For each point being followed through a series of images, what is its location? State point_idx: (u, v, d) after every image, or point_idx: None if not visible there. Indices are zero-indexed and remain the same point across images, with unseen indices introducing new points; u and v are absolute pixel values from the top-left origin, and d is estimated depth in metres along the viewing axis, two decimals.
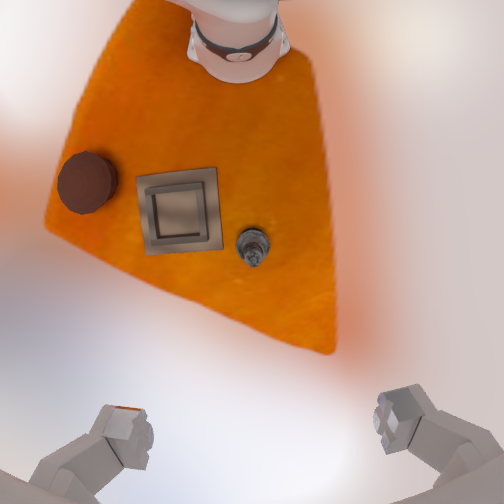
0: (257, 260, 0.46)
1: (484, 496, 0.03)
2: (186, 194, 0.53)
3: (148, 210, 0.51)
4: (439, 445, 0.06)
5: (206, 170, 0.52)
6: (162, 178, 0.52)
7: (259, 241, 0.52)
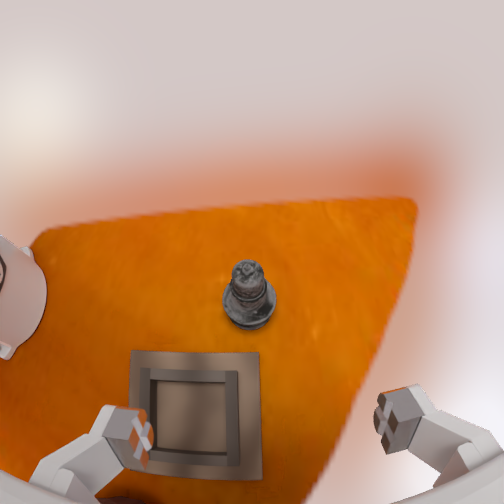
0: (249, 264, 0.27)
1: (484, 496, 0.03)
2: (163, 399, 0.30)
3: (175, 460, 0.25)
4: (439, 445, 0.06)
5: (133, 363, 0.32)
6: None
7: None
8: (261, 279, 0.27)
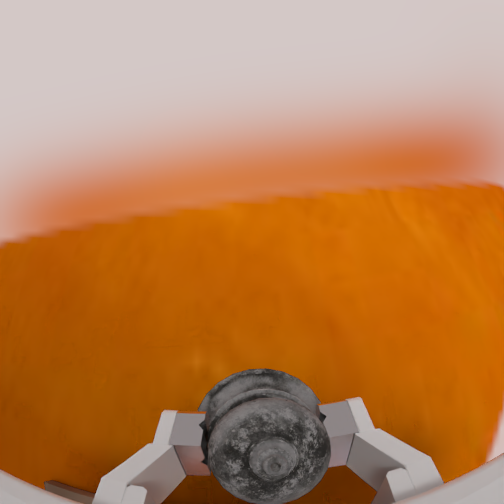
0: (280, 433, 0.05)
1: (484, 496, 0.03)
2: None
3: None
4: (375, 466, 0.06)
5: None
6: None
7: None
8: (324, 472, 0.05)
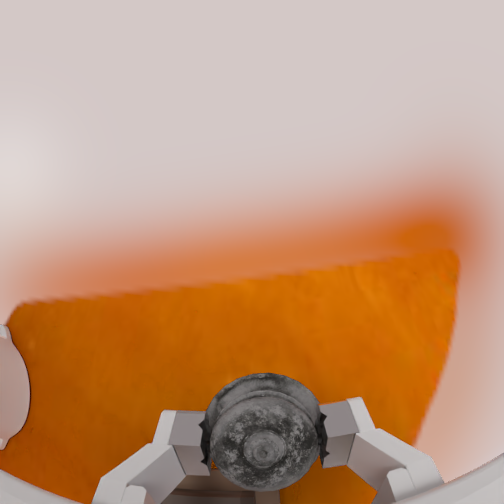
0: (270, 427, 0.06)
1: (484, 496, 0.03)
2: None
3: None
4: (375, 465, 0.06)
5: None
6: None
7: None
8: (312, 463, 0.06)
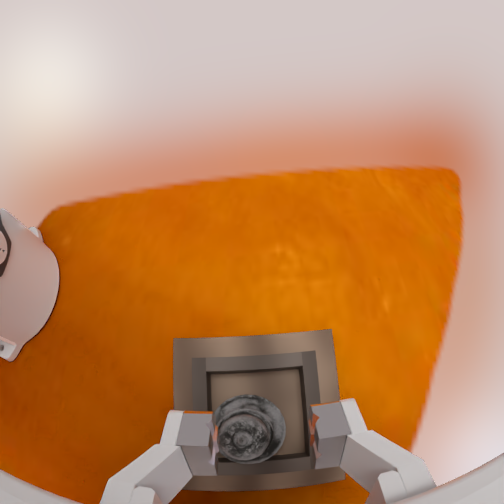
0: (246, 430, 0.14)
1: (484, 496, 0.03)
2: (220, 396, 0.25)
3: (244, 471, 0.19)
4: (367, 467, 0.06)
5: (177, 355, 0.27)
6: None
7: None
8: (264, 449, 0.14)
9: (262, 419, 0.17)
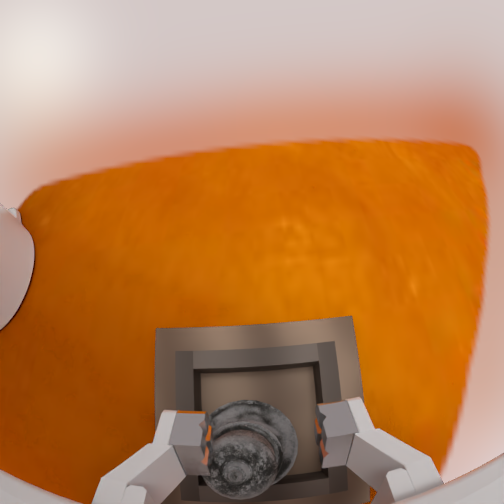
0: (242, 458, 0.09)
1: (484, 496, 0.03)
2: (212, 401, 0.19)
3: None
4: (374, 466, 0.06)
5: (160, 349, 0.21)
6: None
7: None
8: (270, 485, 0.08)
9: (267, 436, 0.12)
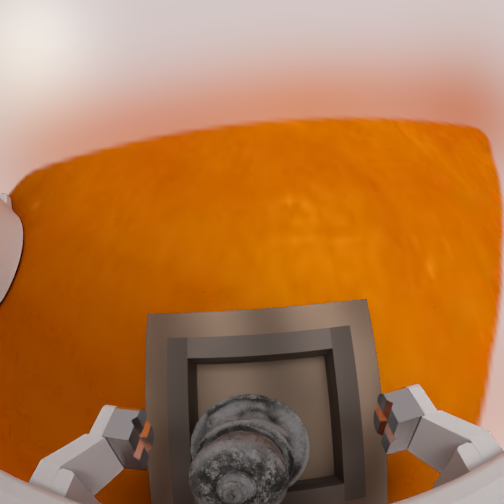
0: (243, 469, 0.06)
1: (484, 496, 0.03)
2: (210, 396, 0.17)
3: None
4: (439, 445, 0.06)
5: (151, 337, 0.19)
6: (160, 457, 0.15)
7: None
8: (280, 502, 0.06)
9: (274, 438, 0.09)
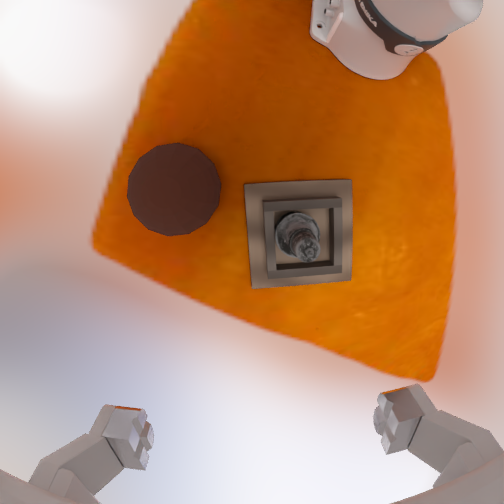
0: (314, 253, 0.32)
1: (484, 496, 0.03)
2: (314, 211, 0.41)
3: (267, 232, 0.40)
4: (439, 445, 0.06)
5: (340, 182, 0.40)
6: (282, 188, 0.41)
7: (309, 229, 0.37)
8: (301, 260, 0.33)
9: None
